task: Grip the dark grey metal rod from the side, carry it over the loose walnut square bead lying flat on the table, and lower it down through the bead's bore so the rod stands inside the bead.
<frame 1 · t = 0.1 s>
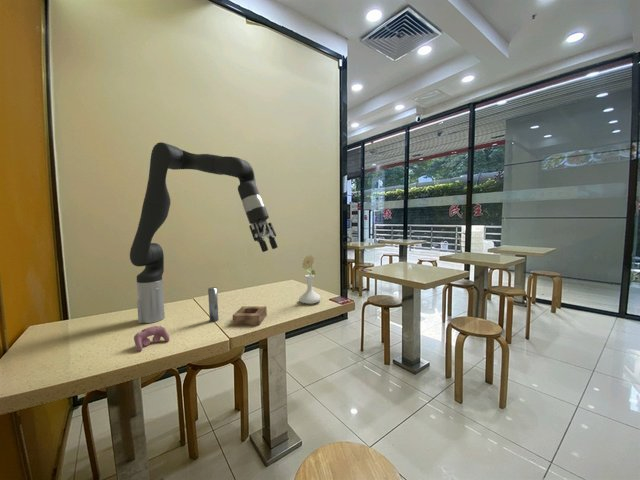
hand: (270, 249, 97), 31 cm above the table, tool tilted 20°, fingers open, 8 cm apart
walnut bead: (250, 319, 111), on the table
pink curved piece: (152, 345, 91), on the table
metal rod: (214, 320, 111), on the table
flower in vase: (310, 302, 133), on the table
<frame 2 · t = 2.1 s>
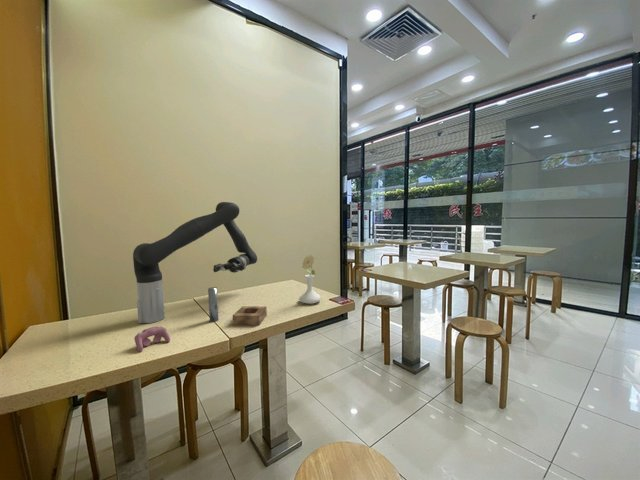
hand: (223, 270, 121), 20 cm above the table, tool horizontal, fingers open, 8 cm apart
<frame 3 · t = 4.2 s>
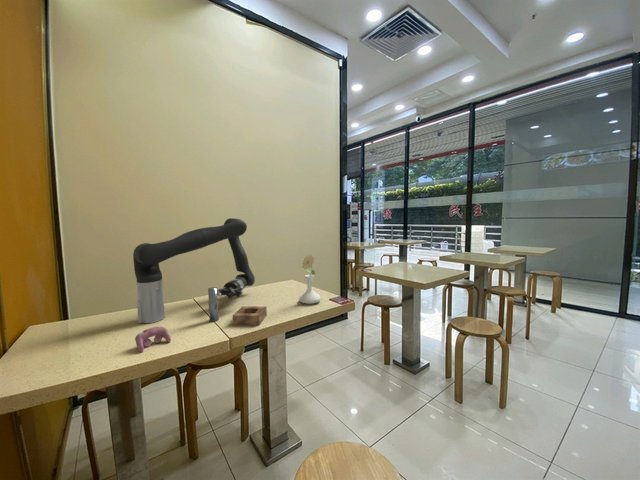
hand: (219, 296, 117), 8 cm above the table, tool horizontal, fingers open, 8 cm apart
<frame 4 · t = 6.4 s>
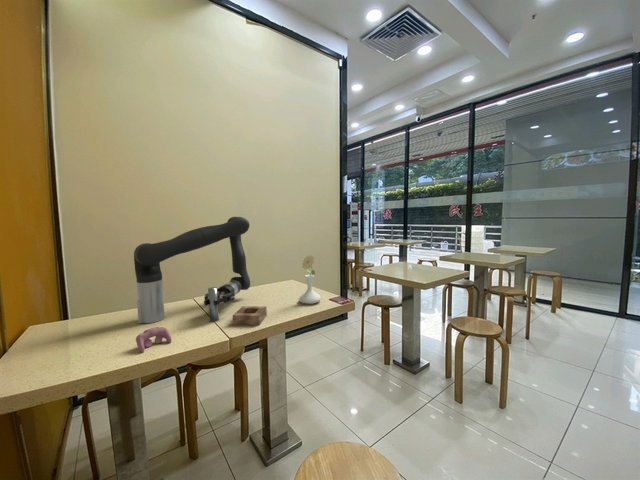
hand: (210, 303, 108), 8 cm above the table, tool horizontal, fingers closed on metal rod, 3 cm apart
metal rod: (214, 320, 111), on the table, touching gripper
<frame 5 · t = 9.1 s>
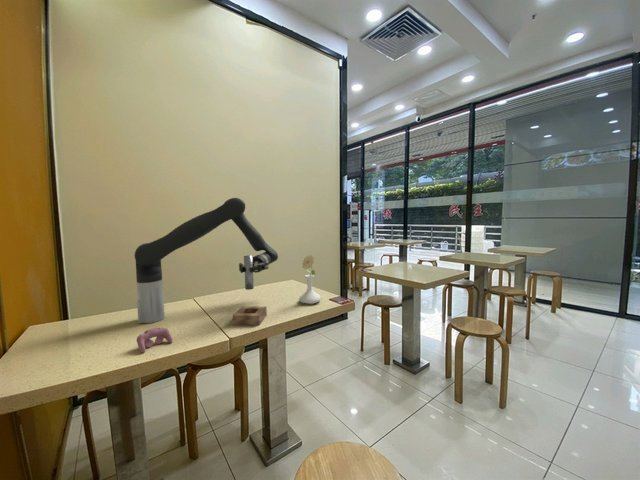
hand: (246, 270, 107), 22 cm above the table, tool horizontal, fingers closed on metal rod, 3 cm apart
metal rod: (249, 288, 110), point 14 cm above the table, touching gripper
when the fingers open (10 cm above the table, at t = 11.7 s): metal rod drops 1 cm, resting in walnut bead.
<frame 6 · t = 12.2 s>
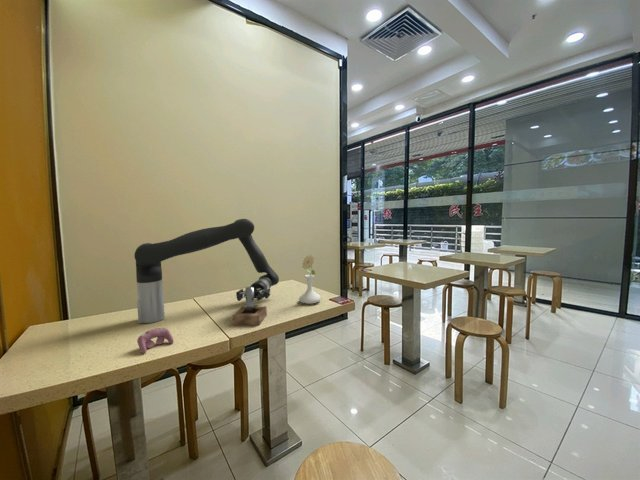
hand: (248, 298, 109), 10 cm above the table, tool horizontal, fingers open, 8 cm apart
metal rod: (250, 319, 111), resting in walnut bead
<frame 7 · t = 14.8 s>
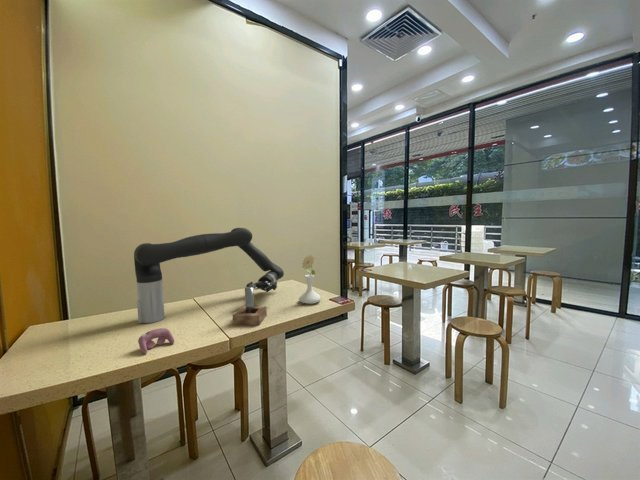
hand: (257, 289, 121), 10 cm above the table, tool horizontal, fingers open, 8 cm apart
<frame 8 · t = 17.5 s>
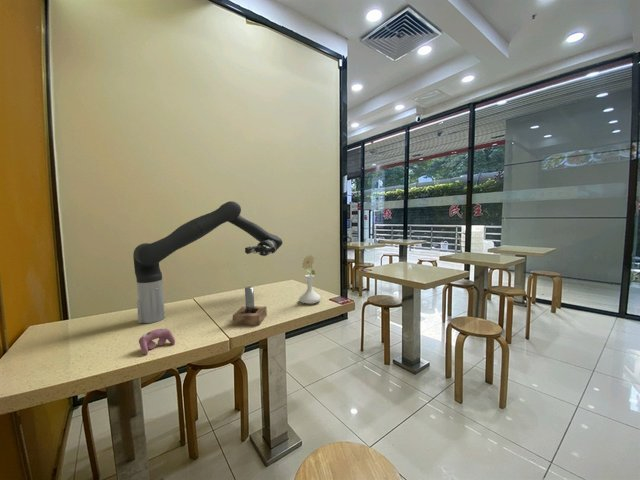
hand: (256, 251, 120), 28 cm above the table, tool horizontal, fingers open, 8 cm apart
at the end: metal rod 0.1 cm from the walnut bead (horizontally); metal rod resting in walnut bead; metal rod tilted 1° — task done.
